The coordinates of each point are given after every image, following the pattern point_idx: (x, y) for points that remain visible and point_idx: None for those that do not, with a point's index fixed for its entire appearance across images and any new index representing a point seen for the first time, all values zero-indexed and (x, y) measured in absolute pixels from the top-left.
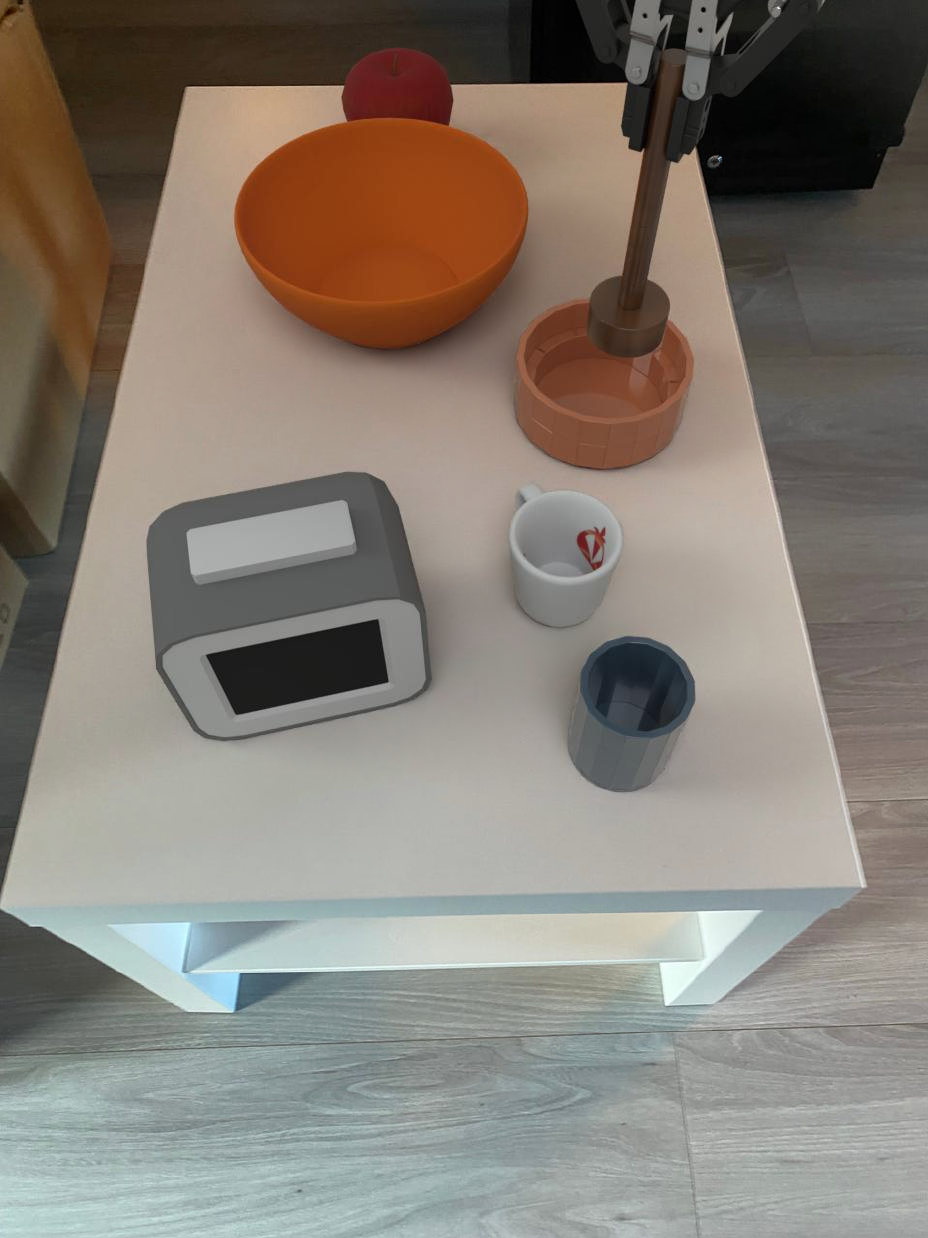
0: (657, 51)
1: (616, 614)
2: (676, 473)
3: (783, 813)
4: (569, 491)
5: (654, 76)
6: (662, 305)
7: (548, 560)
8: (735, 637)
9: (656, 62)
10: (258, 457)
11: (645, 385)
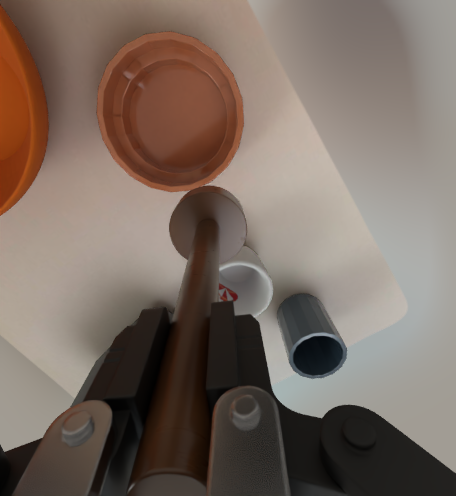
0: (108, 481)
1: (269, 257)
2: (255, 144)
3: (379, 303)
4: (223, 266)
5: (137, 438)
6: (237, 219)
7: None
8: (331, 236)
9: (126, 473)
10: (37, 275)
11: (198, 79)
